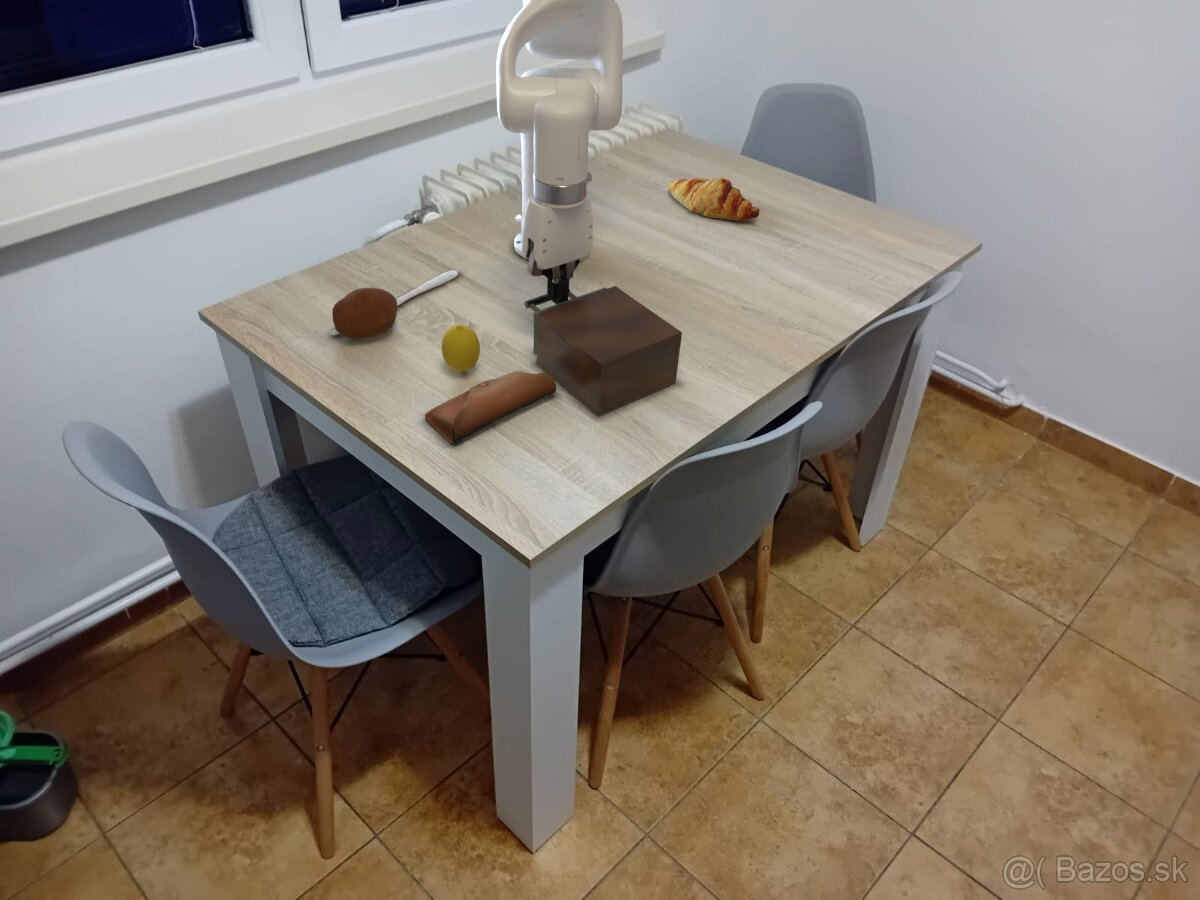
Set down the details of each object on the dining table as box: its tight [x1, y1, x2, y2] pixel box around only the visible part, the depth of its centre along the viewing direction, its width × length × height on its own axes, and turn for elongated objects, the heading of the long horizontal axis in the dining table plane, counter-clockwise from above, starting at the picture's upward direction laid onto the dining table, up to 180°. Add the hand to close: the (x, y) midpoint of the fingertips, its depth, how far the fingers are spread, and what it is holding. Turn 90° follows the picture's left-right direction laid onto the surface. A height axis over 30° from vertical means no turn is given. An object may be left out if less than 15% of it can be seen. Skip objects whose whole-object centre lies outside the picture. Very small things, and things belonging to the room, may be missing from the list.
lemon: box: [441, 324, 481, 373], centre depth 133 cm, size 6×6×8 cm
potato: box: [331, 287, 399, 340], centre depth 140 cm, size 8×11×8 cm
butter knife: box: [329, 269, 459, 336], centre depth 149 cm, size 1×27×3 cm
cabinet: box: [536, 285, 683, 418], centre depth 134 cm, size 16×15×9 cm
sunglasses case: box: [424, 371, 557, 445], centre depth 128 cm, size 18×7×7 cm
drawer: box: [523, 287, 608, 356], centre depth 137 cm, size 21×13×7 cm, turn 37°
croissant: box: [667, 177, 761, 222], centre depth 180 cm, size 21×10×8 cm
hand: (558, 300), depth 140 cm, fingers closed
